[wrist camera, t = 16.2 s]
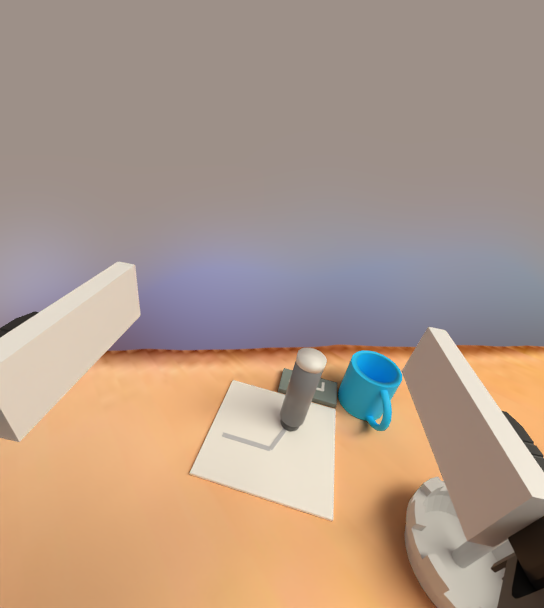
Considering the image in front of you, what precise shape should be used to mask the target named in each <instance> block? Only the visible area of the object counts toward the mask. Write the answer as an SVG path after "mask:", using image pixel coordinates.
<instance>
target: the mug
mask: <svg viewBox="0 0 544 608" xmlns="http://www.w3.org/2000/svg"><path fill="white" fill-rule="evenodd" d="M401 381H402V374H401V371H400V369H399V368H398V366H397V365H396V364H395V363H394V362H393V361H391V360H390V359H389V358H387V357H385V356H384V355H382V354H379V353H377V352H373V351H359V352H356V353H355V354H354V355H353V356H352V359H351V361H350V363H349V366H348V368H347V371H346V373H345V375H344V378H343V380H342V383H341V385H340V388H339V390H338V399H339V401H340V404H341V405H342V407H343V408H344V409H345V410H346V411H347V412H348V413H350V414H351V415H352V416H354V417H356V418H358V419H361V420H366V421H368V423H369V424H370V425H371V427H373V428H374V429H375V430H377V431H384V430H386V429H387V428H388V427H389V424H390V422H391V415H392V409H391V401H390V400H391V399H392V397H393V395H394V393H395V392H396V390H397V388H398V386H399V385H400V383H401ZM382 414H383V418H382V421H381V423H380V424H377V423H376V421H375V420H377V419H378V418H380V417H381V416H382Z"/></svg>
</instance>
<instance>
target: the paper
mask: <svg viewBox="0 0 544 608" xmlns="http://www.w3.org/2000/svg"><path fill="white" fill-rule="evenodd" d="M284 398H285V395H284V394H280V393H277V392H273V391H270V390H266V389H263V388H259V387H256V386H252V385H249V384H245V383H242V382H238V381H235V380H233V381H232V383H231V385H230V387H229V389H228V392H227V394H226V396H225V398H224V400H223V402H222V404H221V407H220V409H219V411H218V413H217V415H216V417H215V420H214V422H213V424H212V426H211V428H210V430H209V432H208V435H207V437H206V439H205V441H204V443H203V445H202V447H201V450H200V452H199V454H198V456H197V458H196V460H195V463H194V465H193V467H192V469H191V471H190V475H193V476H196V477H199V478H202V479H205V480H208V481H211V482H214V483H217V484H220V485H223V486H226V487H229V488H232V489H235V490H238V491H241V492H244V493H247V494H250V495H253V496H256V497H259V498H262V499H265V500H268V501H272V502H275V503H278V504H281V505H284V506H287V507H290V508H293V509H296V510H299V511H302V512H305V513H308V514H311V515H314V516H317V517H320V518H323V519H326V520H329V521H333V505H334V458H335V411H336V409H333V408H329V407H326V406H322V405H319V404H315V403H312V402H311V404H310V407H309V410H308V412H307V415H306V418H305V420H304V423H303V424H302V425H301V426H299V428H298V429H297V430H296V431H287V430H286V429H284V428H283V427H282V425H281V422H280V420H281V418H280V411H281V408H282V404H283V401H284Z"/></svg>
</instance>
